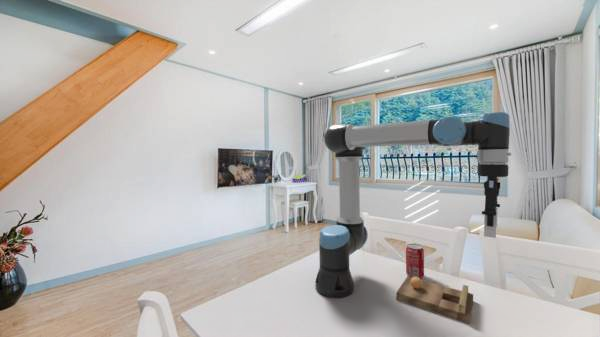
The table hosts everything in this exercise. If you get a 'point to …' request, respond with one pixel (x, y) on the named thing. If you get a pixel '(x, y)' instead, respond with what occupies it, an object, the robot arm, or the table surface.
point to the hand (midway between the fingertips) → (490, 231)
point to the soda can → (415, 260)
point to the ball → (416, 282)
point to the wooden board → (438, 299)
